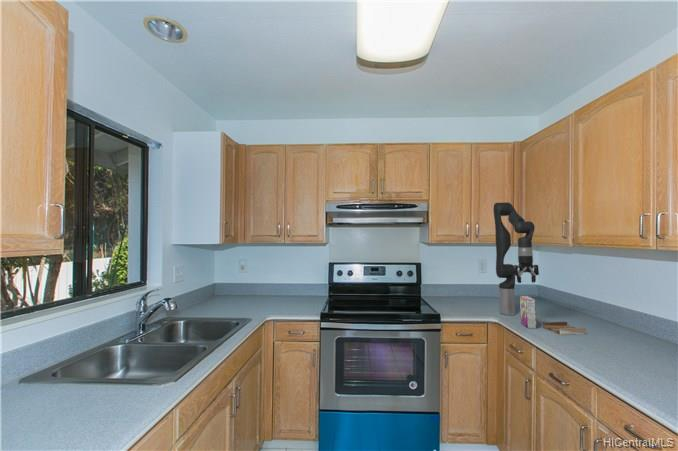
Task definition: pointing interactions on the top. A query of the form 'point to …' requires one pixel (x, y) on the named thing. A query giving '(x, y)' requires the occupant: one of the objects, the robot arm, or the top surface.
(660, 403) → the top surface
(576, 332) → the shelf
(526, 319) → the candy bar box
